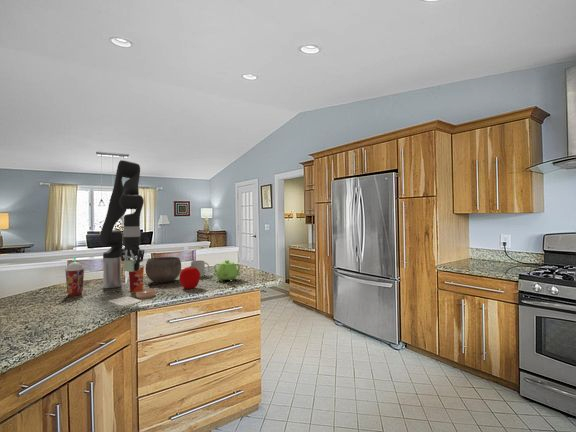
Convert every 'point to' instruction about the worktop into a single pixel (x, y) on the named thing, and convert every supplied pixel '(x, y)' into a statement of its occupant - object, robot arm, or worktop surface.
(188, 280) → the tomato
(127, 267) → the cube
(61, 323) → the worktop surface
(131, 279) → the coffee cup
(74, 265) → the smoothie
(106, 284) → the robot arm
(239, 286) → the worktop surface
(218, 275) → the teapot
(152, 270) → the bowl
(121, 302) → the mat
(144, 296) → the peach domed disc
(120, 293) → the worktop surface
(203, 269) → the mug
